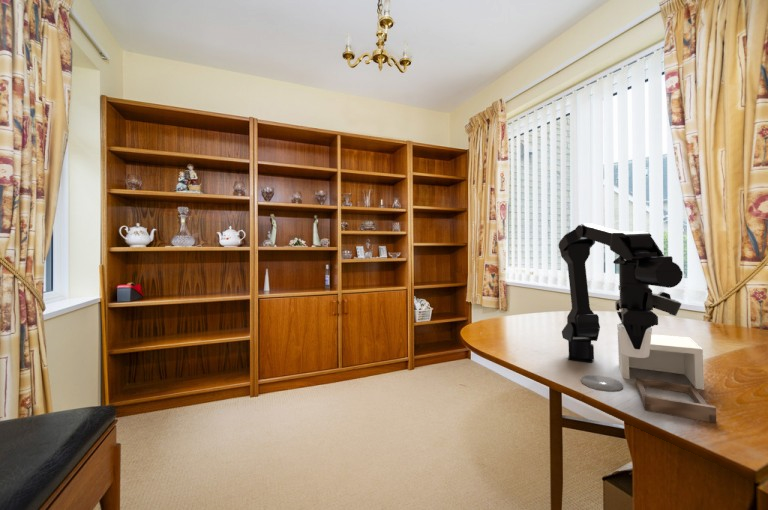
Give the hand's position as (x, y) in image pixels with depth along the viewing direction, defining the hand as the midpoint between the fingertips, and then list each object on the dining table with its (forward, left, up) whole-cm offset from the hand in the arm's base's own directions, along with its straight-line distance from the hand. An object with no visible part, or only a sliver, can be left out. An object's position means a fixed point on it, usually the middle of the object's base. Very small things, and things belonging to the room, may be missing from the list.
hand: (635, 345), depth 79 cm
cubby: (+6, +13, -11) cm, 18 cm away
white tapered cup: (0, 0, -2) cm, 2 cm away
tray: (+6, -3, -11) cm, 13 cm away
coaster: (-7, 0, -11) cm, 13 cm away
